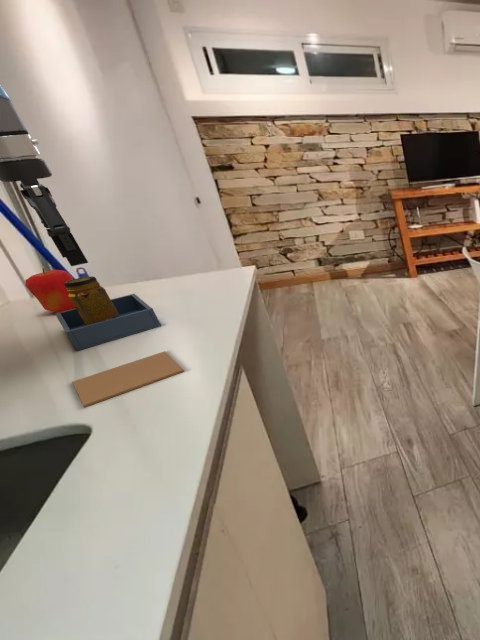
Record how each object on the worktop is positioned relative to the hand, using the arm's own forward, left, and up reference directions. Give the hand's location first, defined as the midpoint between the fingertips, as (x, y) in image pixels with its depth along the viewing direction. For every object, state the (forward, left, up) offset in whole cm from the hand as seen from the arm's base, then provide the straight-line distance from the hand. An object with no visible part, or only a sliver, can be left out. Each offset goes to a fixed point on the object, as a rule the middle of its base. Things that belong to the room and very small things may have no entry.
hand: (75, 260), depth 106 cm
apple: (-5, +31, -17) cm, 36 cm away
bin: (0, 0, -17) cm, 17 cm away
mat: (-3, -37, -17) cm, 41 cm away
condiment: (0, 0, -17) cm, 17 cm away
